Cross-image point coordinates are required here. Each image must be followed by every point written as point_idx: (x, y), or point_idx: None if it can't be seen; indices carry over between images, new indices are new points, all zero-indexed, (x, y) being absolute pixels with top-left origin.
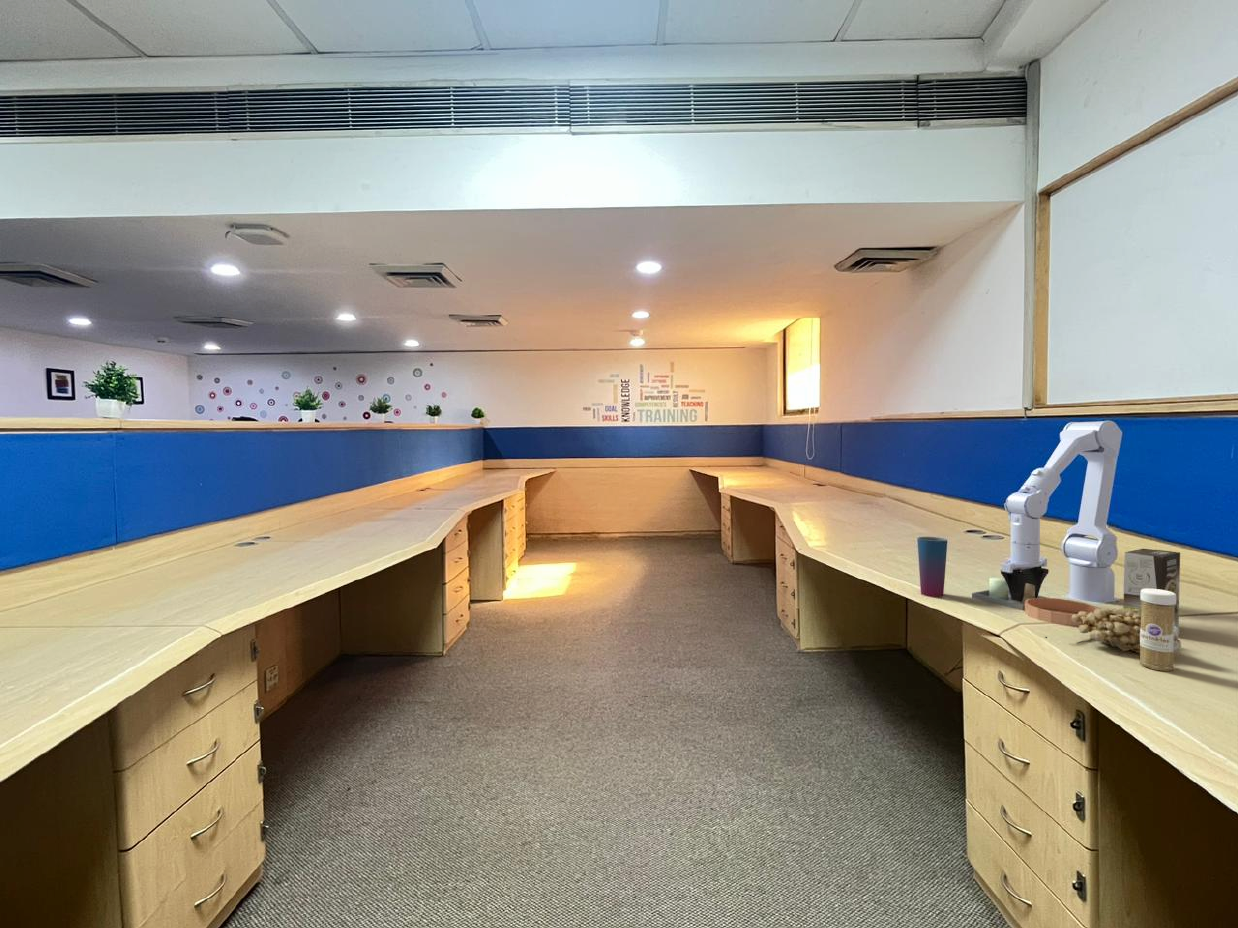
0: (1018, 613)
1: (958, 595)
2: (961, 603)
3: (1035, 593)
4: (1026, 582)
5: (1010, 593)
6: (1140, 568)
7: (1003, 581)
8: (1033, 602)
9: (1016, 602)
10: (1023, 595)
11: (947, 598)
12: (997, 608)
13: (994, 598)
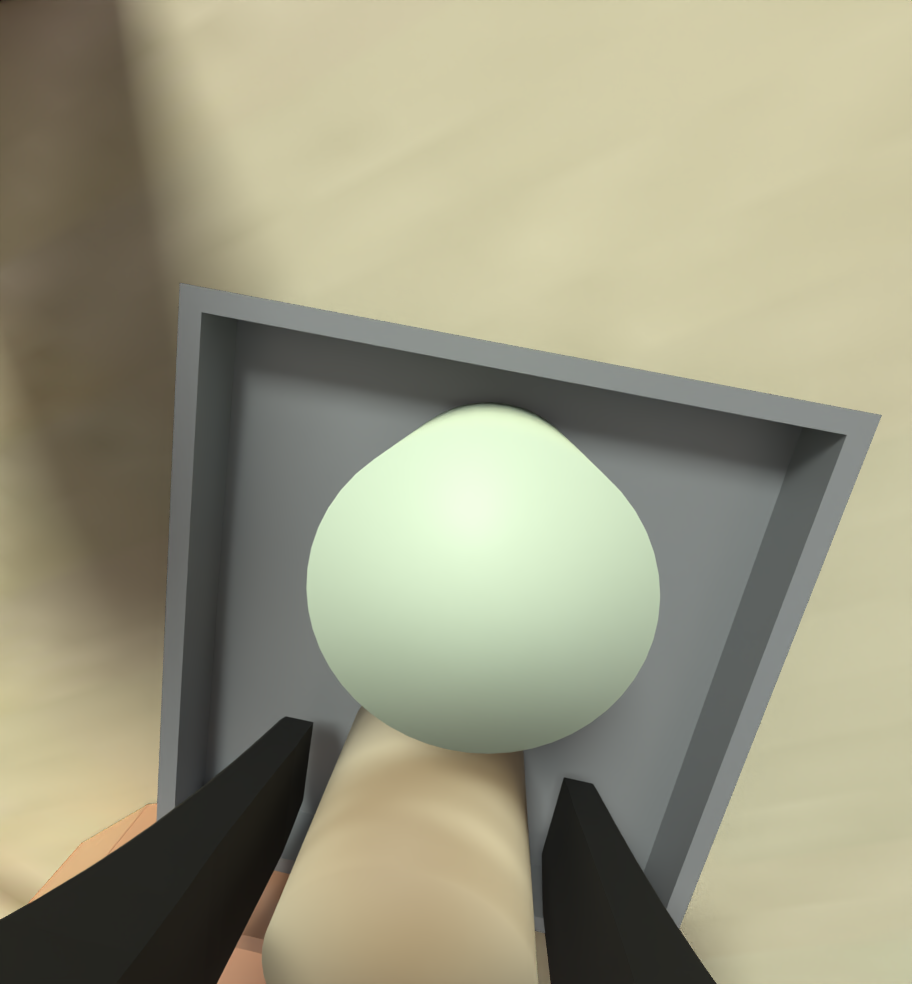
0: (151, 761)
1: (320, 59)
2: (7, 287)
3: (548, 913)
4: (610, 969)
5: (239, 759)
6: None
7: (383, 708)
8: (275, 905)
9: (356, 715)
10: (264, 879)
11: (57, 46)
12: (149, 602)
13: (167, 582)
